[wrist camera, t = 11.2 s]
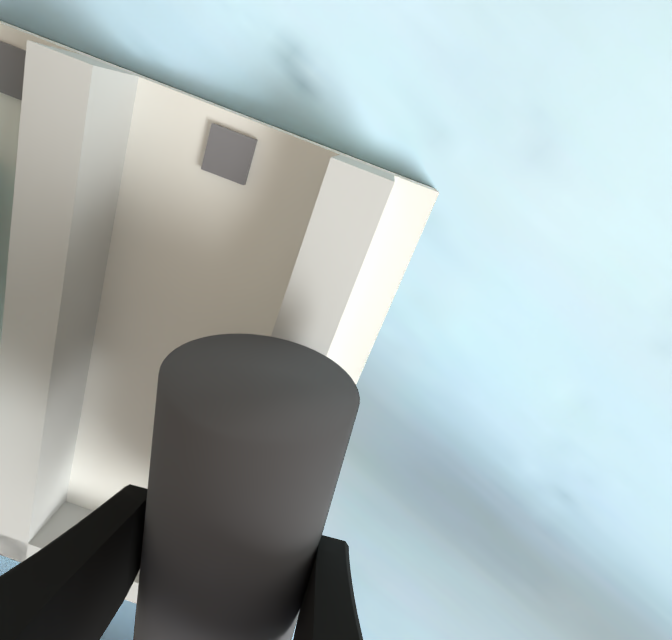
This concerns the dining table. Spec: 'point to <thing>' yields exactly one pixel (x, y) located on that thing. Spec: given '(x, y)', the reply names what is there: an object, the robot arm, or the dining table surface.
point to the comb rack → (159, 264)
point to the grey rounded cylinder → (239, 486)
